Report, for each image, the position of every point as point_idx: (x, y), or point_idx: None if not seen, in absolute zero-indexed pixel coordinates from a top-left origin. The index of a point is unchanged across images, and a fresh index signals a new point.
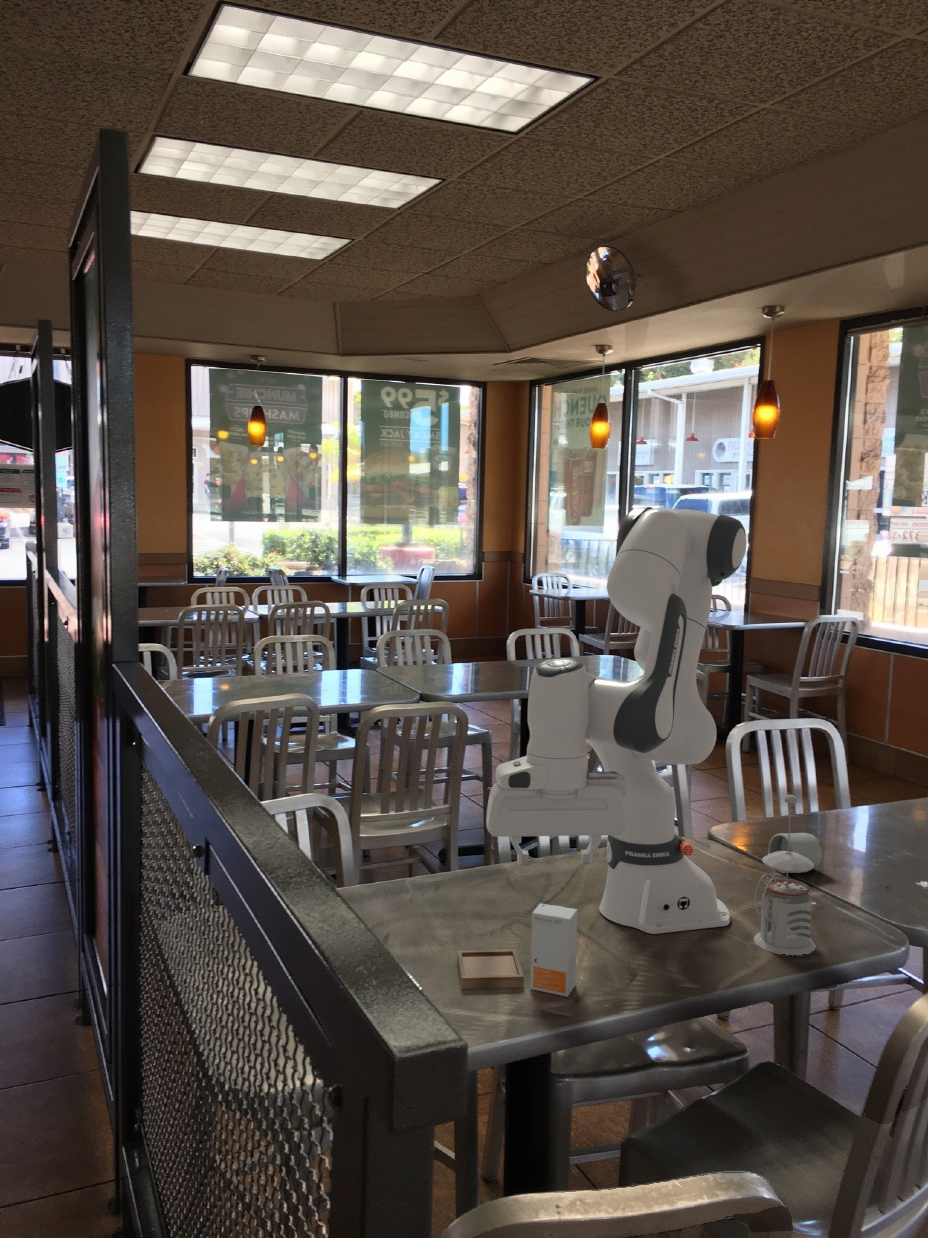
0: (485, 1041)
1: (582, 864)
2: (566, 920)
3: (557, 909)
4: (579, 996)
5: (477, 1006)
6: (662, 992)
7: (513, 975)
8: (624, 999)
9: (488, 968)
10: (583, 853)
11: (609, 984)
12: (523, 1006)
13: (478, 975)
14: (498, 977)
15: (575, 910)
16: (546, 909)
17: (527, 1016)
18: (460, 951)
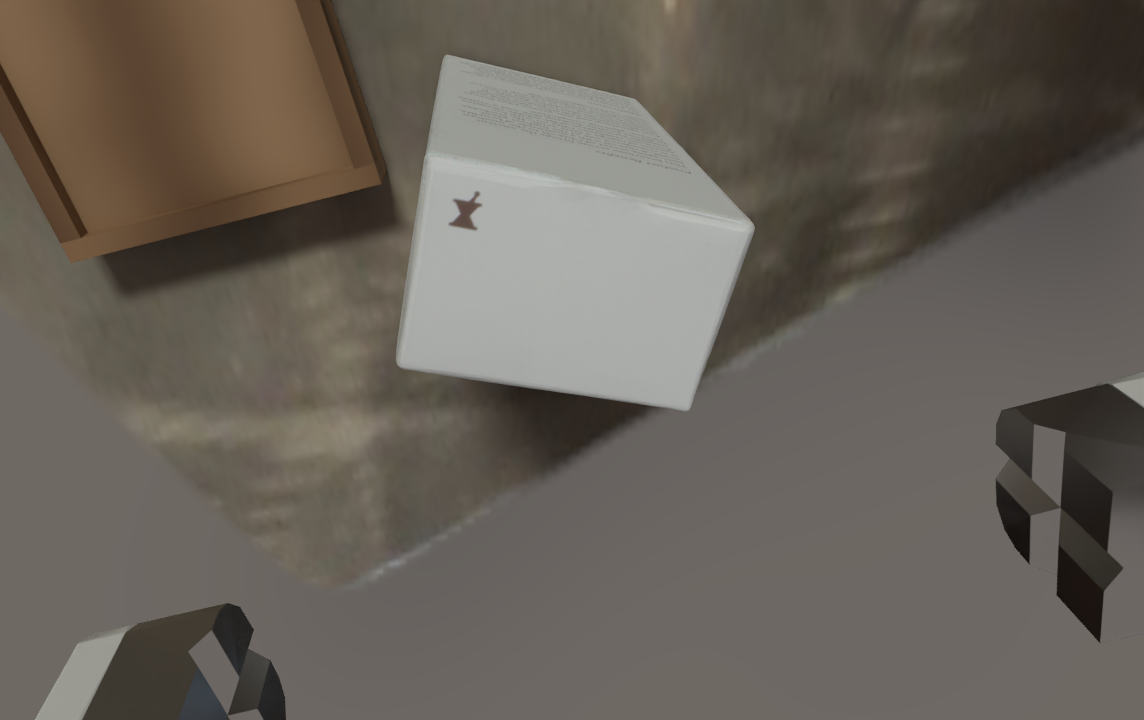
0: (330, 583)
1: (998, 503)
2: (662, 407)
3: (592, 270)
4: None
5: (223, 372)
6: (1038, 90)
7: (327, 184)
8: (853, 191)
9: (162, 85)
10: (1109, 634)
11: (804, 51)
12: None
13: (137, 178)
14: (254, 214)
15: (738, 260)
16: (502, 286)
17: (448, 405)
18: None
